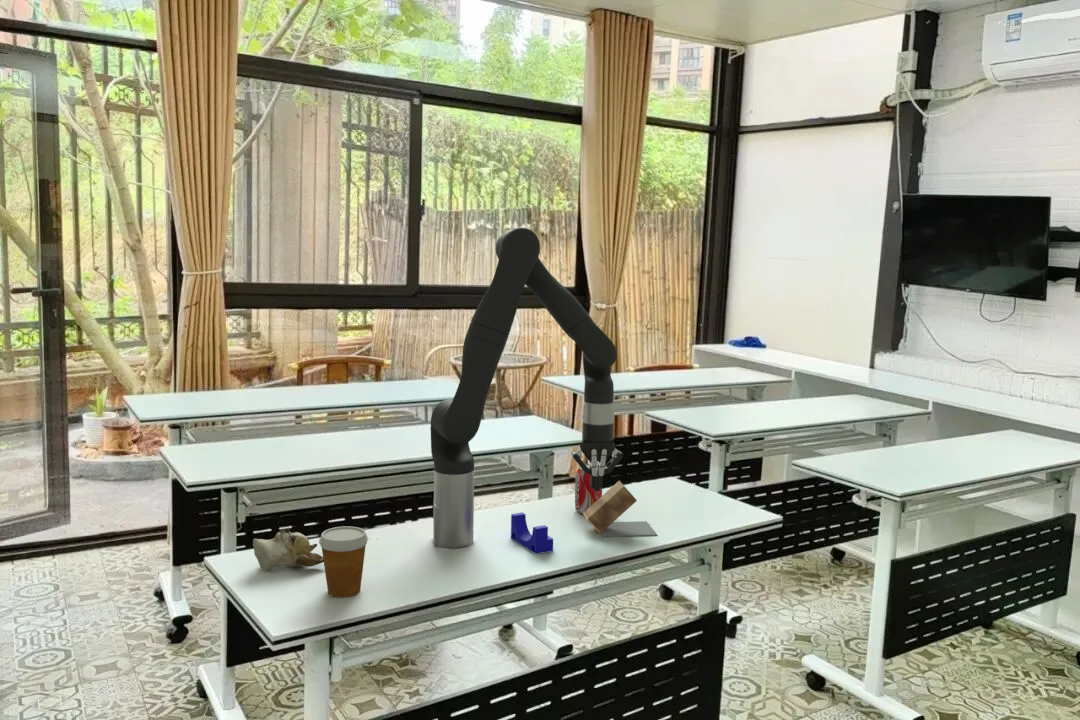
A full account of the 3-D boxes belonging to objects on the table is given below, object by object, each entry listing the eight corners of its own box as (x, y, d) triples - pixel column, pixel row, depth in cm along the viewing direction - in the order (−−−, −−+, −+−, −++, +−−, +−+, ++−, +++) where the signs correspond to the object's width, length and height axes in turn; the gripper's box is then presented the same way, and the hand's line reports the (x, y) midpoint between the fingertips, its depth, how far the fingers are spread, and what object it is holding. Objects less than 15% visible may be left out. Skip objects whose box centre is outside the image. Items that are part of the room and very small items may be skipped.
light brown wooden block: (586, 519, 212) (624, 486, 212) (582, 513, 217) (619, 480, 217) (600, 533, 213) (637, 500, 213) (595, 527, 218) (632, 494, 218)
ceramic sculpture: (248, 524, 188) (317, 518, 195) (246, 563, 189) (315, 556, 196) (259, 539, 179) (331, 533, 186) (257, 580, 180) (329, 572, 187)
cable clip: (553, 551, 201) (553, 526, 200) (535, 554, 198) (536, 528, 198) (527, 535, 211) (527, 511, 210) (510, 538, 209) (511, 514, 208)
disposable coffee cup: (309, 593, 174) (308, 534, 172) (345, 578, 182) (344, 522, 180) (343, 605, 169) (342, 545, 167) (378, 589, 177) (378, 531, 175)
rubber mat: (604, 537, 210) (604, 535, 210) (595, 523, 220) (595, 522, 220) (657, 535, 212) (657, 534, 212) (646, 522, 222) (646, 521, 222)
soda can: (570, 508, 232) (571, 464, 231) (595, 506, 234) (597, 462, 233) (579, 516, 226) (581, 471, 224) (605, 514, 228) (607, 469, 226)
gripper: (573, 423, 207) (572, 495, 209) (628, 423, 209) (626, 493, 211) (568, 417, 214) (566, 486, 216) (621, 416, 216) (619, 485, 218)
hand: (596, 489), depth 214 cm, fingers closed
